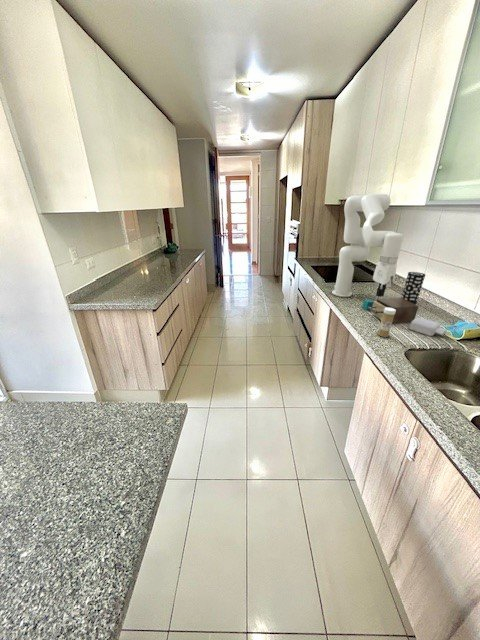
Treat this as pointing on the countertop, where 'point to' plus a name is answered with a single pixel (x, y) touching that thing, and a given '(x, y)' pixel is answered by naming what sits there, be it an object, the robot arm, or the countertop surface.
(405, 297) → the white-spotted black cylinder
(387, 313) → the sprinkles bottle
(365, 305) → the pod
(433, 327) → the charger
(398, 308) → the cabinet
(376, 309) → the tray
